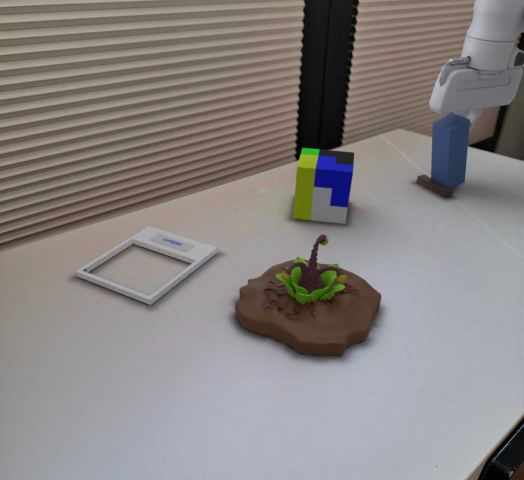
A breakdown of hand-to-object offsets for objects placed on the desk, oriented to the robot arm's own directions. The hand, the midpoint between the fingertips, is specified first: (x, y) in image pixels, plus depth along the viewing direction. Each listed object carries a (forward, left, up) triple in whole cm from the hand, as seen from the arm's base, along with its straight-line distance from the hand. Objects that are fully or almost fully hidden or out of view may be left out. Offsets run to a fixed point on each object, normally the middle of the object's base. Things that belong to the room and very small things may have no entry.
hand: (463, 131), depth 104 cm
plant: (+53, +25, -12) cm, 60 cm away
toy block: (+1, 0, -11) cm, 11 cm away
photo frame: (+70, +3, -12) cm, 71 cm away
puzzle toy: (+33, -2, -12) cm, 35 cm away
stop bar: (+5, 0, -12) cm, 12 cm away
